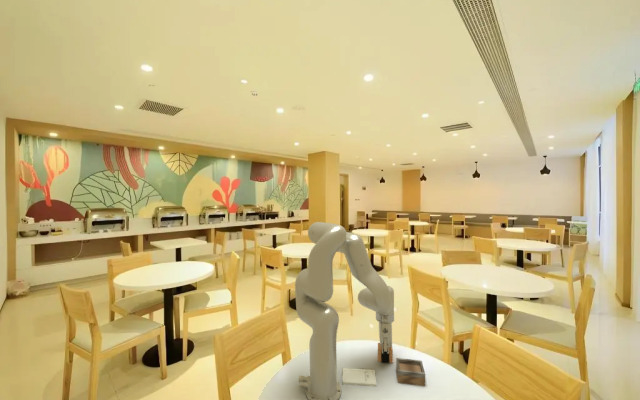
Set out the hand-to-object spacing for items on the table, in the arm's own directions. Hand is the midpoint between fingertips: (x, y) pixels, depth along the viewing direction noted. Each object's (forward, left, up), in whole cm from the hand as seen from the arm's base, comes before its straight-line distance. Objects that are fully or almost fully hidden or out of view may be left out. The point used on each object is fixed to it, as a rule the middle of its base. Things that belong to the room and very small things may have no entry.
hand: (385, 357), depth 116 cm
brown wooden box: (+9, -10, 0) cm, 13 cm away
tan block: (0, 0, 0) cm, 0 cm away
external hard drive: (-10, -14, -1) cm, 17 cm away
